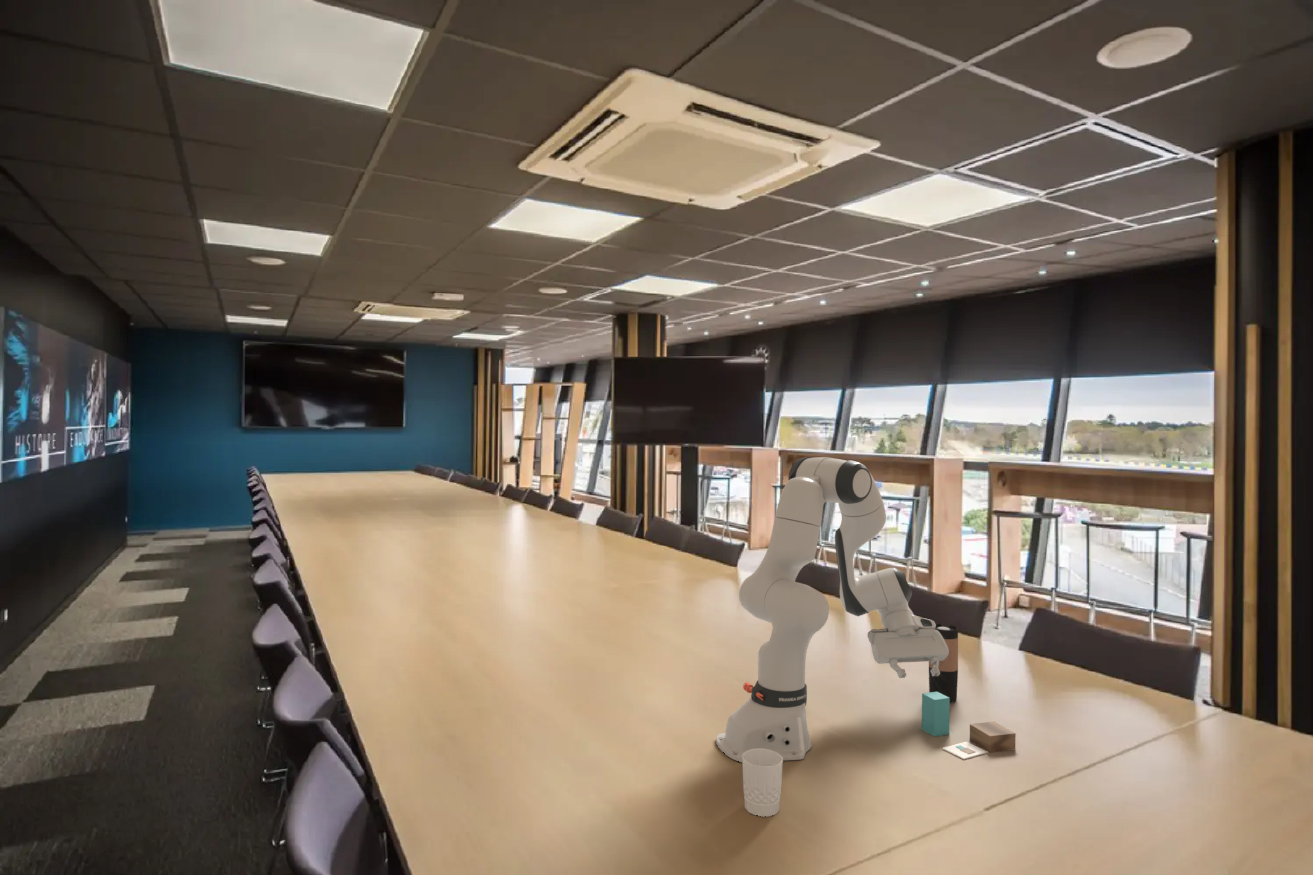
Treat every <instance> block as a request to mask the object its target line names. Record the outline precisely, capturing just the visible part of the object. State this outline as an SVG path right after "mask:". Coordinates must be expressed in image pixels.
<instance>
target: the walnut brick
mask: <svg viewBox="0 0 1313 875" xmlns="http://www.w3.org/2000/svg"><path fill="white" fill-rule="evenodd" d="M1016 735H1017V734H1016V732H1014V731H1012V730H1011V729H1008V728H1006V727H1005V726H1003V725H1001V724H1000V723H998V722H996V721H987V722H975V723H970V724H969V741H971V742H973V743H974V744H976V745H977V746H978V747H980V748H981V749H983V750H985V751H988V753H995V752H1003V751H1004V752H1005V751H1011V750H1013V751H1014V750H1016V737H1017V736H1016Z"/></svg>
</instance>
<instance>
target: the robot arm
mask: <svg viewBox="0 0 1313 875" xmlns="http://www.w3.org/2000/svg"><path fill="white" fill-rule="evenodd" d="M781 492H782V493H781V495H780V497H779V500H778V504H777V506H776V510H775V515H774V521H773V526H772V530H771V534H770V539H769V543H768V547H767V550H766V552H765V555H764V557H763V558H762V561H761V562H760V564H759V565H758V567H757V568H756V570H755V571H754V572H753V573H752V574H750V575H749V576H747V577H746V578H745V579H744V581H743V582H742V584H741V585H740V587H739V588H740V589H739V592H738V598H739V602H740V605H741V606H742V608H743V609H744V610H746V611H747V612H748V613H749V614H751V615H752V616H754V618H757V619H759V620H761V621H765V622H767V623H770V624H771V626H772V630H771V635H770V638H769V640H767V641H766V642H764V643H763V644H762V645H760V647H759V649H758V654H757V655H758V656H757V658H758V659H757V663H758V664H757V674H758V675H757V680H756V682H755V684H754V685H753V684H751V683H750V682H748V681H746V682H745V683H744V684H743V686H742V689H743V690H744V691H745V692H746V693H748V694H751V695H750V697H749V699H747V701H745V702H744V703H743V704H742V705H740V706H739V707H738V708H737V709H736V710H734V711H733V712H732V713H731V714H730V715H729V716H728V718H727V722H726V726H725V727H726V728H725V732H722V733H719V734H717V735H716V740H715V743H716V745H718V746H717V747H718V749H719V750H720V751H721V752H722V753H723V752H724V753H725V754H724V753H723V754H724V755H725V756H727V757H729V758H730V759H731V760H734V761H737V762H738V761H739V763H742V755H743V753H744V752H746V751H747V750H751V749H768V750H772V751H775V752H777V753H779V754H780V755H781V756H782V758H783V761H798V760H804V759H805V757H806V753H807V752H809V750H810V749H812V748H811V747H812V746H813V745H812V741H811V737H810V734H809V728H808V722H807V711H806V710H807V709H806V706H807V703H808V702H807V701H808V692H807V691H808V687H807V683H806V663H807V662H806V661H807V651H808V648H809V644H810V642H811V640H812V638H813V637H814V635H815V634H816V633H817V632H819V631H821V629H822V628H824V626H825V625H826V624H827V621H828V619H829V615H830V607H829V606H830V605H829V602H828V600H827V597H826V596H825V595H824V594H823V592H821V591H819V590H817V589H815V588H814V587H811V586H810V585H808V584H806V583H803V582H798V581H796V580H797V577H798V574H799V573H800V571H801V570H802V568H803V567H804V566H807V565H808V564H810V563H811V562H812V561H813V560H814V559H815V557H816V553H817V548H818V542H819V537H820V532H821V526H822V520H823V519H822V518H823V513H824V511H823V510H824V505H825V503H834V504H835V503H836V504H838V507H839V508H838V509H839V510H840V513H841V522H840V525H839V527H838V528H837V529H836V530H835V533H834V543H835V544H834V545H835V554H836V561H837V569H838V570H837V571H838V577H839V578H838V579H839V599H840V602H841V605H842V607H843V609H844V610H845V612H847V613H849V614H851V615H853V616H856V617H861V616H864V615H866V614H869V613H870V612H873V611H877V612H878V613H879V615H880V623H881V625H882V627H883V628H879V629H876V628H872V629H871V630H869V631H868V632H867V639H868V641H869V643H870V647H871V651H872V652H871V653H872V656H873V659H874V661H875V663H877V664H889V666H890V668H891V669H892V670H893V671H895V673H896V674H897V676H898V678H899V679H905V678H906V677H907V672H906V670H905V668H901V667H900V665H899V664H902V663H920V662H929V661H930V662H931V664H934V666H933V668H932V669H931V670H930V671H931V673H932V676H939V675H940V671H939V669H938V666H939V661H943V660H945V658H946V657H947V656H948V654H949V649H948V647H947V645H946V643H945V641H944V639H943V637H942V635H941V634H940V632H939V631H937V630H935V627H936V622H935V621H934V620H932V619H928V618H924V617H922V616H917V615H916V614H914V612H913V611H912V609H911V608H910V607H909V602H910V600H911V598H912V595H913V591H912V588H911V587H910V584H909V582H908V581H907V577H906V574H905V572H903V571H901V570H900V569H899V568H897V567H888V568H884V569H881V570H877V571H874V572H871V573H868V574H864V575H860V576H855V568H854V560H853V558H854V555H855V554H856V552H857V551H858V550H859V549H861V547H862V546H864V545H865V544H867V543H868V542H870V541H871V540H872V539H874V538H875V537H877V535H879V534H880V532H882V530H883V528H884V527H885V524H886V520H887V514H886V513H887V512H886V508H885V505H884V501H883V498H882V495H881V491H880V489H879V487H878V485H877V482H876V481H875V479H874V477H873V475H872V474H871V471H870V470H869V469H868V468H867V466H866V465H865V464H863V463H861V462H859V461H855V460H845V459H840V458H834V457H829V456H821V457H820V456H819V457H818V456H817V457H813V456H806V457H801V458H798V459H797V460H795V461H794V462H793V464H792V465H791V467H790V469H789V471H788V476H787V482H786V483H785V485H784V487H783V489H782V491H781Z"/></svg>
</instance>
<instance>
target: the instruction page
mask: <svg viewBox="0 0 1313 875" xmlns="http://www.w3.org/2000/svg"><path fill="white" fill-rule="evenodd" d="M942 750H944V751H946V752H947V753H950V754H952V755H953V756H955V757H958V758H960V759H962V761H964V760H968V759H971V758H975V757H979V756H982V755H985V754H988V753H989V751H987V750H986V749H984V748H982V747H980V746H978V745H977V746H976V745H974V744H972V743H970V742H969V741H963V742H960V743H959V742H958V743H956V744H952V745H949V746H944V747H942Z"/></svg>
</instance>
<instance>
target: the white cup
mask: <svg viewBox="0 0 1313 875" xmlns="http://www.w3.org/2000/svg"><path fill="white" fill-rule="evenodd" d="M783 762H784V760H783V758H782V756H781V755H780V754H779V753H777V752H775V751H772V750H768V749H751V750H747V751H746V752H744V753H743V755H742V762H741V764H742V783H743V784H742V788H743V796H744V809H745V810H746V811H747V812H748V813H749V814H752V816H756V815H758V816H757V817H760V816H761V818H762V817H764V818H765V816H766V818H767V817H772V815H773V816H775V815H777V814H778V813H780V812H779V811H780V800H781V794H782V793H781V791H782V781H783V777H782V776H783Z"/></svg>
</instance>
